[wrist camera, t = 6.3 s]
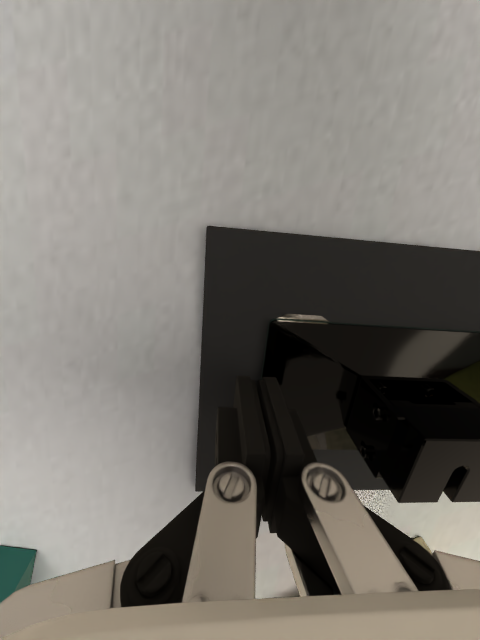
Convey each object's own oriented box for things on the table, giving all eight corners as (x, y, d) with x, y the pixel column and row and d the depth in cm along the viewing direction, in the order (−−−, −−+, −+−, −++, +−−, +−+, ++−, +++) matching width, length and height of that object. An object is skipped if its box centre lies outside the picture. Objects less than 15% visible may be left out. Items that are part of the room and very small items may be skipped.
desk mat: (206, 225, 10) (206, 225, 10) (714, 273, 12) (726, 274, 12) (195, 486, 15) (195, 491, 15) (562, 483, 17) (567, 488, 17)
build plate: (251, 442, 14) (264, 543, 9) (269, 310, 11) (299, 367, 7) (466, 446, 15) (567, 539, 11) (527, 328, 12) (691, 386, 8)
